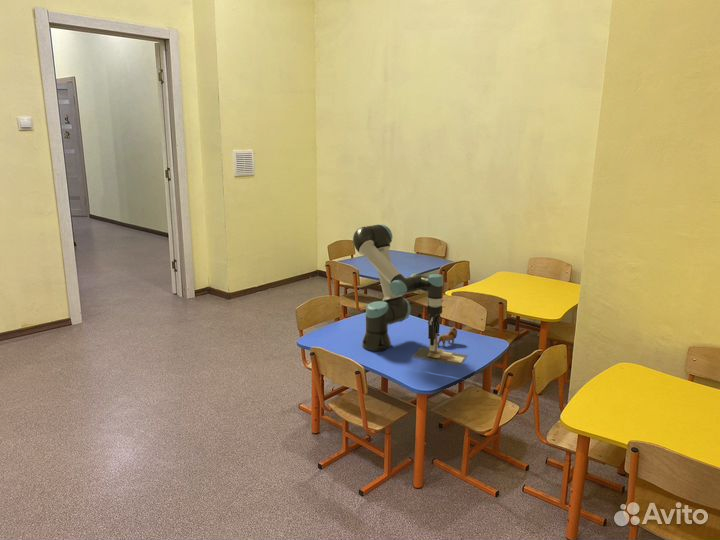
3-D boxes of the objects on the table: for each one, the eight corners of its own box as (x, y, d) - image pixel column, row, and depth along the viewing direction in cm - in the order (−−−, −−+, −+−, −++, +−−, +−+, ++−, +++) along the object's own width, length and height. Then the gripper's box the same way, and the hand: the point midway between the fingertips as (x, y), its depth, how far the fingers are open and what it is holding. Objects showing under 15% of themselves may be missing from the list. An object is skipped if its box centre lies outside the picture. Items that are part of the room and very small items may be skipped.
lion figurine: (451, 340, 293) (452, 325, 291) (459, 343, 289) (459, 327, 287) (433, 347, 283) (434, 331, 281) (441, 350, 279) (442, 334, 277)
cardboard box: (427, 356, 269) (428, 336, 266) (432, 349, 277) (433, 330, 274) (439, 358, 266) (439, 338, 264) (444, 351, 274) (445, 332, 272)
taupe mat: (412, 358, 270) (412, 357, 270) (421, 348, 282) (421, 347, 282) (461, 367, 260) (461, 365, 260) (467, 356, 272) (467, 355, 272)
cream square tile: (440, 358, 268) (440, 354, 268) (443, 354, 273) (443, 351, 272) (450, 359, 266) (450, 356, 266) (452, 356, 271) (452, 352, 270)
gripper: (437, 310, 257) (435, 356, 263) (446, 301, 271) (445, 345, 277) (422, 308, 260) (421, 353, 266) (432, 299, 274) (431, 342, 280)
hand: (433, 349), depth 271 cm, fingers closed on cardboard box, 3 cm apart
